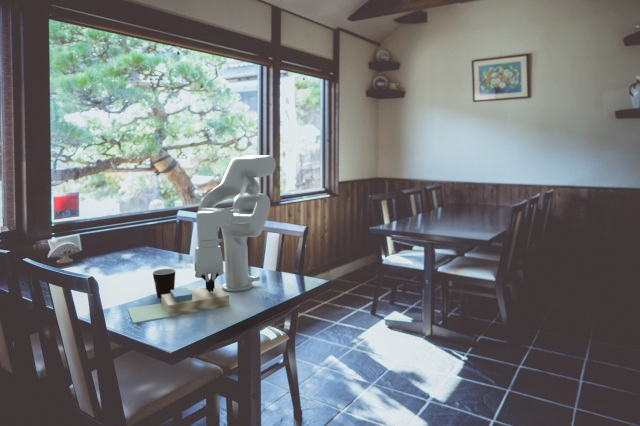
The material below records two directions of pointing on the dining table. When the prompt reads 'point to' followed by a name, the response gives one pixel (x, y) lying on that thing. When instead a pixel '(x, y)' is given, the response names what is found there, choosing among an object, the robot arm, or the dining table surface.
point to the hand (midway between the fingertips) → (210, 290)
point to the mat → (147, 313)
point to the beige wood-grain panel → (196, 301)
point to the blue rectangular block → (181, 294)
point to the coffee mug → (164, 281)
